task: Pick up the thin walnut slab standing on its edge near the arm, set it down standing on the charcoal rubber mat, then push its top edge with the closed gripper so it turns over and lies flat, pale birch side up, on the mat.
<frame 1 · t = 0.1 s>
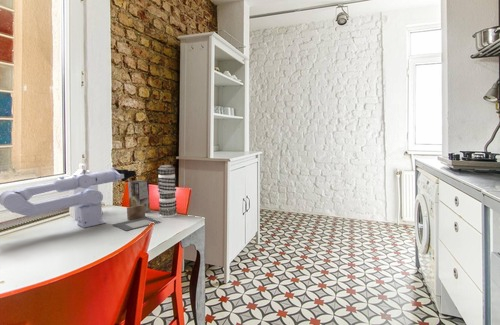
hand: (131, 172, 146), 22 cm above the table, tool horizontal, fingers open, 7 cm apart
charcoal mat: (136, 223, 132), on the table
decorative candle: (168, 215, 146), on the table
walnut slab: (136, 218, 141), on the table
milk: (85, 215, 148), on the table
coffee box: (139, 211, 155), on the table
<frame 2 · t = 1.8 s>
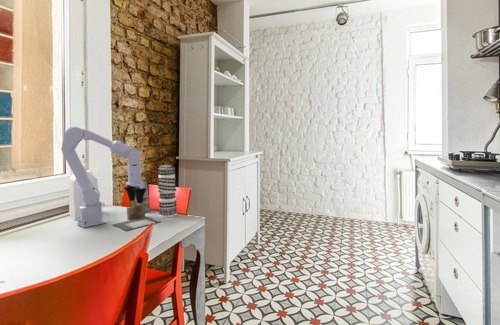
hand: (135, 201, 141), 8 cm above the table, tool pointing down, fingers open, 7 cm apart
nothing on the table moved.
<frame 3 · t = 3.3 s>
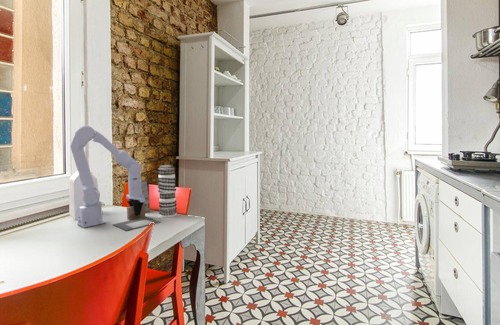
hand: (136, 214, 141), 2 cm above the table, tool pointing down, fingers closed on walnut slab, 2 cm apart
walnut slab: (136, 218, 141), on the table, touching gripper
everything else where it was.
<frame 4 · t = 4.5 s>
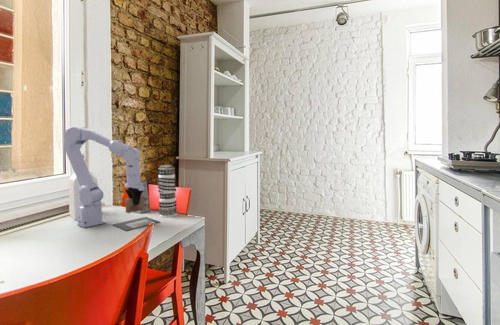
hand: (134, 204, 133), 8 cm above the table, tool pointing down, fingers closed on walnut slab, 2 cm apart
walnut slab: (135, 210, 133), point 6 cm above the table, touching gripper
everything else where it was.
when the fingers open (3 cm above the table, at t = 5.7 s): walnut slab stays where it is, resting on charcoal mat.
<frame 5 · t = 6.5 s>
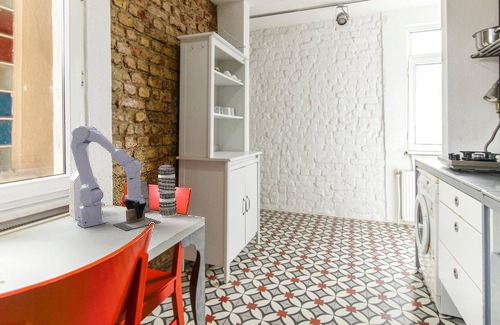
hand: (135, 216, 134), 3 cm above the table, tool pointing down, fingers open, 7 cm apart
walnut slab: (136, 221, 134), resting on charcoal mat
everything else where it was.
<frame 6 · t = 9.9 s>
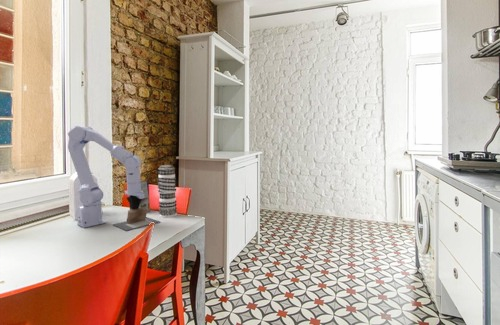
hand: (135, 212, 133), 5 cm above the table, tool pointing down, fingers closed
walnut slab: (136, 221, 134), point 1 cm above the table, tilted 22°, touching charcoal mat
everything else where it was.
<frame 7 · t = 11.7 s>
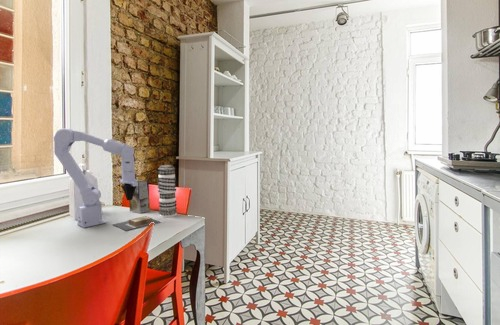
hand: (129, 199, 138), 10 cm above the table, tool pointing down, fingers closed
walnut slab: (137, 220, 133), point 1 cm above the table, tilted 90°, touching charcoal mat
everything else where it was.
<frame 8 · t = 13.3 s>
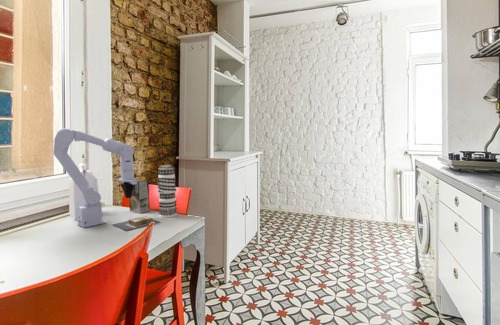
hand: (128, 197, 141), 10 cm above the table, tool pointing down, fingers closed
nothing on the table moved.
at the end: walnut slab tilted 90°; walnut slab inside the target area (1.1 cm from its centre), point 1.4 cm above the table; the gripper is holding nothing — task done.
